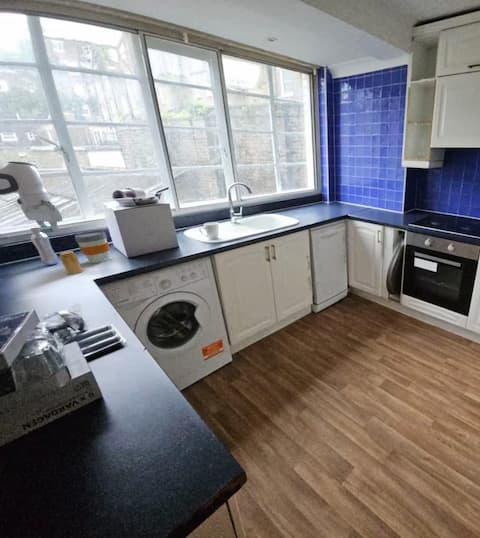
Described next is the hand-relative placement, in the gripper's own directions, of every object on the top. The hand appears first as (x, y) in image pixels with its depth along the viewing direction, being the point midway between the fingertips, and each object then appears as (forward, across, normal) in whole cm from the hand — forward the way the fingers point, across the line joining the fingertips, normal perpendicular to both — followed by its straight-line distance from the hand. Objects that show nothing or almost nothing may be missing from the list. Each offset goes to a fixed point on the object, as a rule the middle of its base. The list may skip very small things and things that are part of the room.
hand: (50, 230), depth 136 cm
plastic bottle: (+23, +26, -6) cm, 35 cm away
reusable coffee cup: (+22, +6, -18) cm, 29 cm away
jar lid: (-1, 0, 0) cm, 1 cm away
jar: (+22, 0, -2) cm, 23 cm away
